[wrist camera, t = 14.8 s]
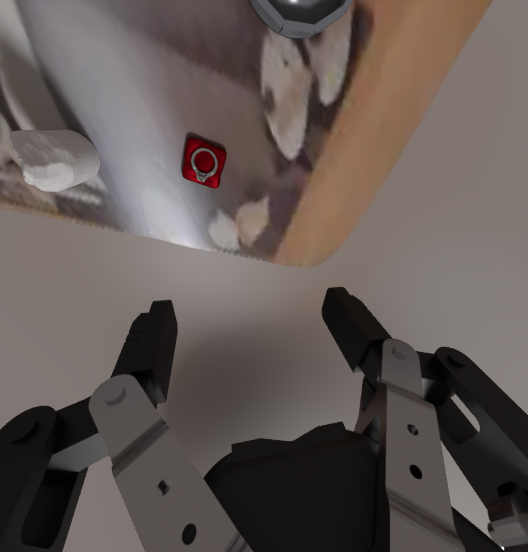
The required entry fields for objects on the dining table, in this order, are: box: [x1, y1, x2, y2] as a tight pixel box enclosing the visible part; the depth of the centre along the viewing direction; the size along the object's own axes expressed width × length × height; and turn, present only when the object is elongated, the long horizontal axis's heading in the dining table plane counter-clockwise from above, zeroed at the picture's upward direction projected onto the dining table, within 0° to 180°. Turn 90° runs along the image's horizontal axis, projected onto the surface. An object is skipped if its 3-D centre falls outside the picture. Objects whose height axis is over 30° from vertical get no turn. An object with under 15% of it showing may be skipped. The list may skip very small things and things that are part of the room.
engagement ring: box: [182, 137, 227, 188], centre depth 33 cm, size 6×6×3 cm
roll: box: [10, 129, 100, 192], centre depth 25 cm, size 6×12×6 cm
